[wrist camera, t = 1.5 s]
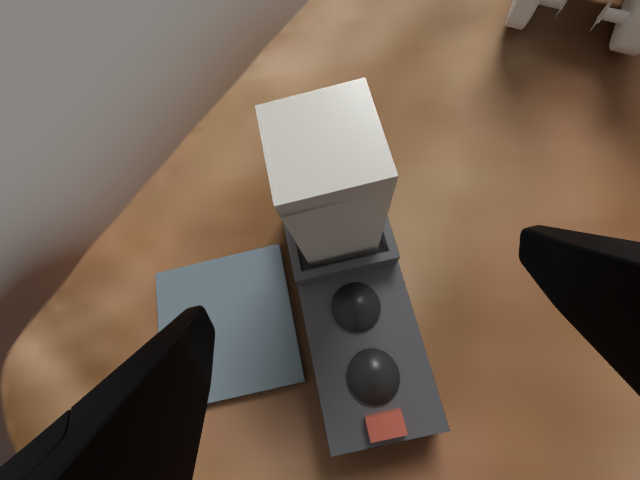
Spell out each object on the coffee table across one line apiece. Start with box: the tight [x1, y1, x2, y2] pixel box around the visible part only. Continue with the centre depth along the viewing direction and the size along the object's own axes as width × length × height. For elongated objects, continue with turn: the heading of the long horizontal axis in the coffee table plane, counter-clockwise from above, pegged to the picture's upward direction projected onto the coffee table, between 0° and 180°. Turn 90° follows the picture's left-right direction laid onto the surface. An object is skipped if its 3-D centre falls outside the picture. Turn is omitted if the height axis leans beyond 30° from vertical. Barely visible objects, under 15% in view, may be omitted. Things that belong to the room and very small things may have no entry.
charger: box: [255, 78, 398, 267], centre depth 16 cm, size 4×4×10 cm
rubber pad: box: [156, 244, 305, 404], centre depth 22 cm, size 10×10×1 cm
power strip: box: [283, 216, 450, 457], centre depth 20 cm, size 16×7×4 cm, turn 12°
